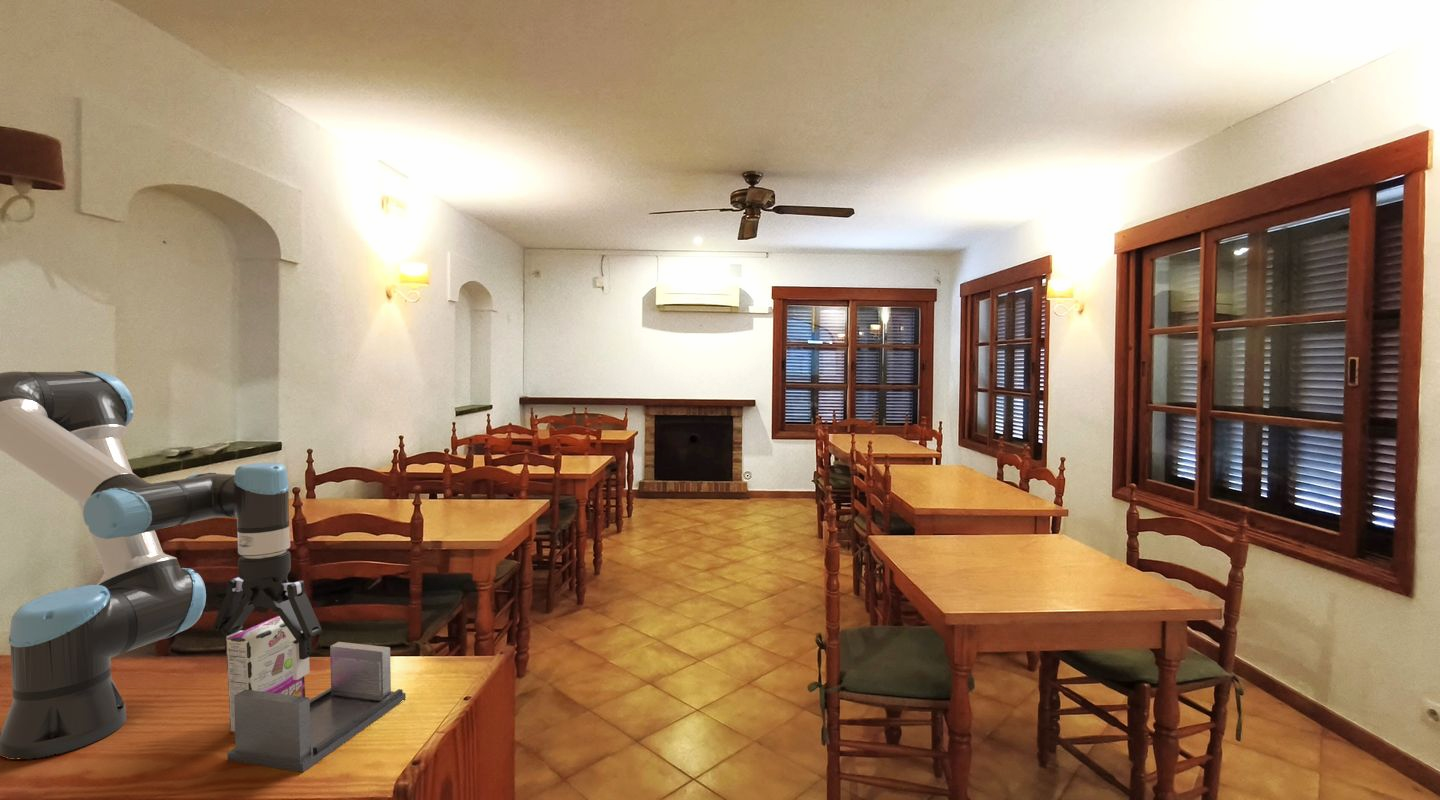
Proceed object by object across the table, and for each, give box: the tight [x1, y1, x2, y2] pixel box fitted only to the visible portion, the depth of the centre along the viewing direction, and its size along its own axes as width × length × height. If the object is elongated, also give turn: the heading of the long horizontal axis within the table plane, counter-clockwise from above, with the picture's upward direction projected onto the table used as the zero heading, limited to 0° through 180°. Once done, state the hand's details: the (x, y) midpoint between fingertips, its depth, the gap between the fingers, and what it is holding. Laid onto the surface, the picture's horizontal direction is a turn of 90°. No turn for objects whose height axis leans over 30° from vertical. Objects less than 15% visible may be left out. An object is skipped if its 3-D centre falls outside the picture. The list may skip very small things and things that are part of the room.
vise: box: [226, 687, 406, 773], centre depth 113 cm, size 14×23×10 cm, turn 168°
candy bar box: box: [226, 615, 306, 734], centre depth 116 cm, size 11×5×16 cm, turn 168°
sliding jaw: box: [329, 641, 392, 701], centre depth 124 cm, size 11×8×9 cm
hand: (268, 673), depth 116 cm, fingers open, 13 cm apart
